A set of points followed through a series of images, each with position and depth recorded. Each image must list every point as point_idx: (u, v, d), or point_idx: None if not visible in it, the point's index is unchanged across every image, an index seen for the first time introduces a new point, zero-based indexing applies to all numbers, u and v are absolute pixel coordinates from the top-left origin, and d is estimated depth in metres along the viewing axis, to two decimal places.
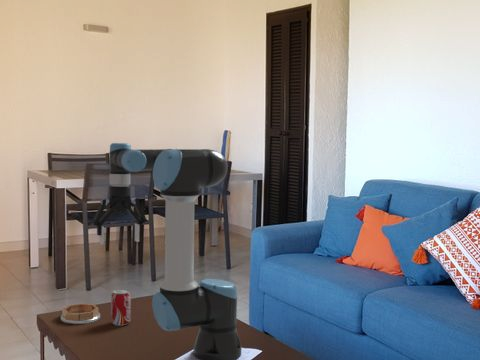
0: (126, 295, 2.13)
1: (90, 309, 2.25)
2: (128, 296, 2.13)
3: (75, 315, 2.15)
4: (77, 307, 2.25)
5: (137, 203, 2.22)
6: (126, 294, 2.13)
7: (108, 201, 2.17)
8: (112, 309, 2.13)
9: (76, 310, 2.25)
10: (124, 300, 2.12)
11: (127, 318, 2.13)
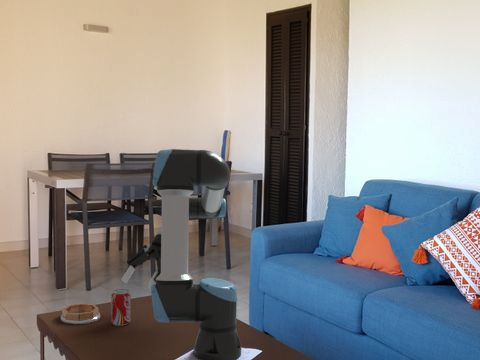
0: (126, 295, 2.13)
1: (90, 309, 2.25)
2: (128, 296, 2.13)
3: (75, 315, 2.15)
4: (77, 307, 2.25)
5: None
6: (126, 294, 2.13)
7: (148, 248, 2.31)
8: (112, 309, 2.13)
9: (76, 310, 2.25)
10: (124, 300, 2.12)
11: (127, 318, 2.13)
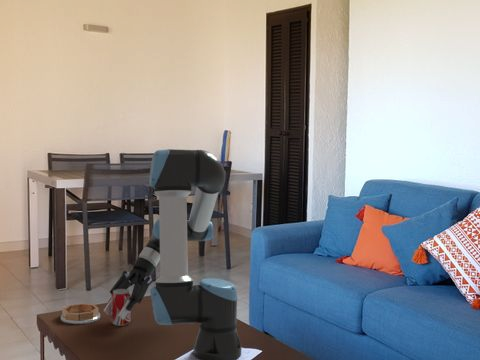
0: (126, 295, 2.13)
1: (90, 309, 2.25)
2: (128, 296, 2.13)
3: (75, 315, 2.15)
4: (77, 307, 2.25)
5: (145, 280, 2.16)
6: (126, 294, 2.13)
7: (129, 273, 2.23)
8: (112, 309, 2.13)
9: (76, 310, 2.25)
10: (124, 300, 2.12)
11: (127, 318, 2.13)
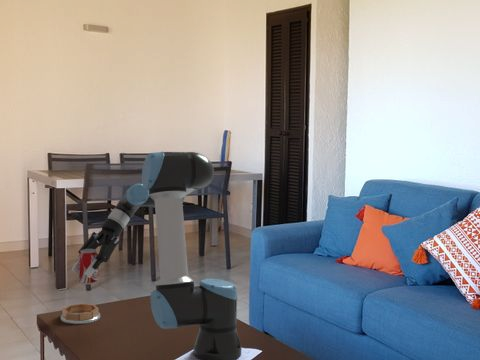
0: (93, 254, 2.17)
1: (90, 309, 2.25)
2: (95, 255, 2.17)
3: (75, 315, 2.15)
4: (77, 307, 2.25)
5: (112, 240, 2.20)
6: (93, 253, 2.17)
7: (97, 234, 2.27)
8: (79, 268, 2.17)
9: (76, 310, 2.25)
10: (91, 259, 2.16)
11: (94, 277, 2.18)
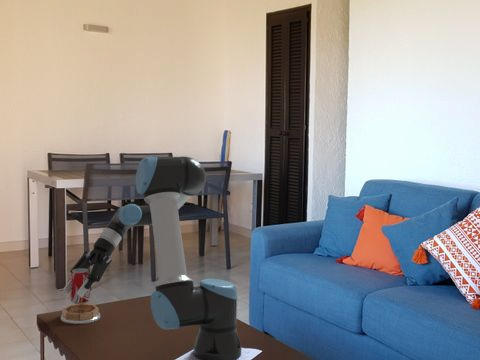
0: (85, 274, 2.18)
1: (90, 309, 2.25)
2: (87, 275, 2.18)
3: (75, 315, 2.15)
4: (77, 307, 2.25)
5: (104, 260, 2.21)
6: (85, 273, 2.18)
7: (89, 253, 2.28)
8: (71, 287, 2.18)
9: (76, 310, 2.25)
10: (83, 279, 2.17)
11: (86, 296, 2.18)
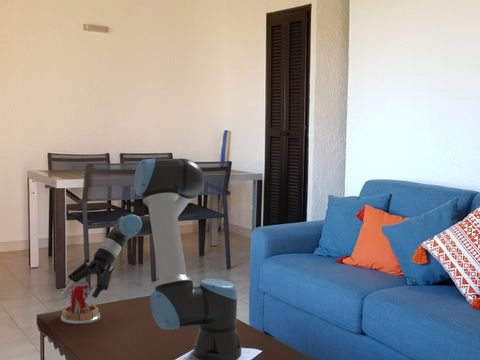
0: (85, 287, 2.18)
1: (90, 309, 2.25)
2: (87, 288, 2.19)
3: (75, 315, 2.15)
4: None
5: (106, 268, 2.21)
6: (85, 286, 2.18)
7: (90, 262, 2.28)
8: (71, 301, 2.18)
9: None
10: (83, 292, 2.17)
11: (86, 310, 2.19)
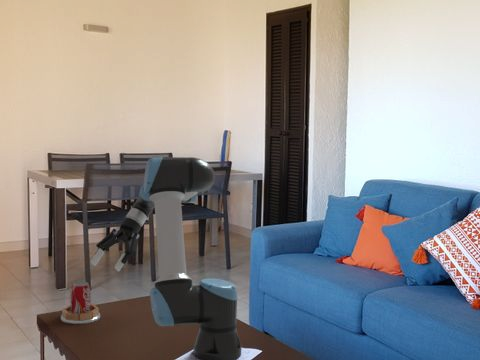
0: (85, 287, 2.18)
1: (90, 309, 2.25)
2: (87, 288, 2.19)
3: (75, 315, 2.15)
4: None
5: (134, 236, 2.30)
6: (85, 286, 2.18)
7: (117, 231, 2.38)
8: (71, 301, 2.18)
9: None
10: (83, 292, 2.17)
11: (86, 310, 2.19)
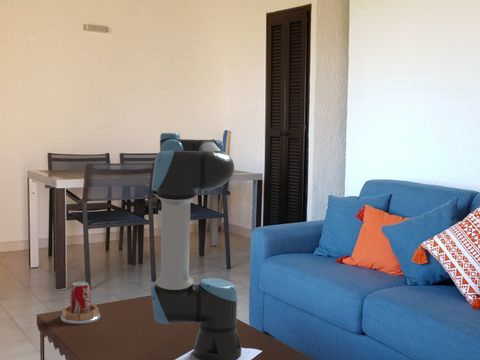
0: (85, 287, 2.18)
1: (90, 309, 2.25)
2: (87, 288, 2.19)
3: (75, 315, 2.15)
4: None
5: None
6: (85, 286, 2.18)
7: None
8: (71, 301, 2.18)
9: None
10: (83, 292, 2.17)
11: (86, 310, 2.19)
